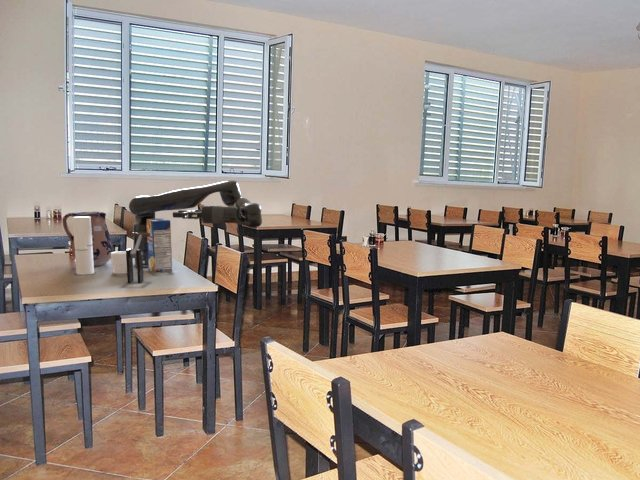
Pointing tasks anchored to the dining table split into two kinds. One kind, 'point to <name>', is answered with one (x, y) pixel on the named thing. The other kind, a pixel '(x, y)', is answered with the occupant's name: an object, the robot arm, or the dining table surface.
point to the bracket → (130, 266)
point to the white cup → (119, 262)
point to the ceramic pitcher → (94, 236)
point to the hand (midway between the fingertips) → (175, 213)
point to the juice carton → (159, 245)
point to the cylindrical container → (83, 245)
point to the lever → (138, 242)
